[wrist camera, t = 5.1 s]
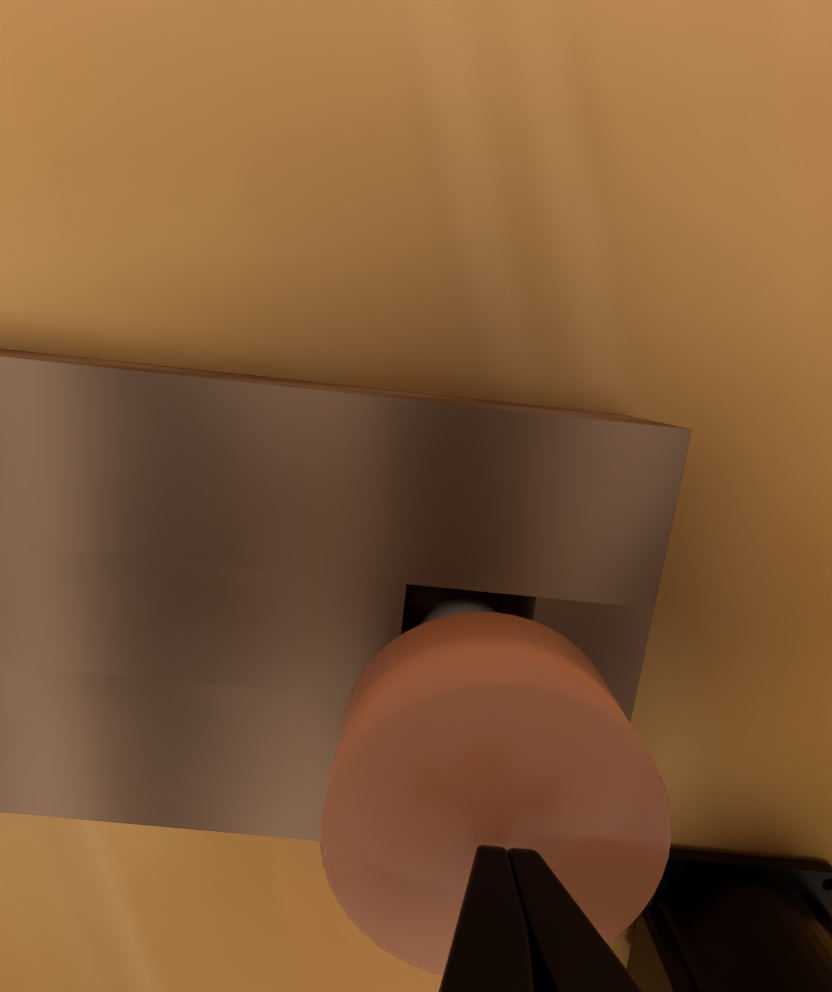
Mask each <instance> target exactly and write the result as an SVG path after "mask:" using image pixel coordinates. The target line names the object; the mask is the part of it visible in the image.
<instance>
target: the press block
mask: <svg viewBox="0 0 832 992" xmlns="http://www.w3.org/2000/svg"><path fill="white" fill-rule="evenodd" d="M690 435H691V430H690V429H686V428H681V427H677V426H672V425H668V424H663V423H659V422H654V421H650V420H645V419H641V418H636V417H632V416H627V415H617V414H608V413H598V412H589V411H580V410H570V409H561V408H551V407H542V406H533V405H523V404H514V403H504V402H495V401H486V400H476V399H467V398H457V397H448V396H439V395H429V394H420V393H410V392H401V391H392V390H382V389H373V388H363V387H354V386H345V385H335V384H326V383H316V382H307V381H298V380H288V379H279V378H269V377H260V376H251V375H241V374H232V373H222V372H213V371H204V370H194V369H185V368H175V367H166V366H157V365H147V364H138V363H128V362H119V361H110V360H100V359H91V358H81V357H72V356H63V355H53V354H44V353H34V352H25V351H16V350H6V349H0V812H4V813H16V814H27V815H38V816H49V817H60V818H72V819H83V820H94V821H105V822H116V823H127V824H139V825H150V826H161V827H172V828H183V829H195V830H206V831H217V832H228V833H239V834H251V835H262V836H273V837H284V838H295V839H306V840H318V841H321V821H322V815H323V809H324V804H325V799H326V794H327V789H328V785H329V780H330V775H331V771H332V766H333V761H334V757H335V752H336V747H337V742H338V738H339V733H340V728H341V724H342V719H343V714H344V710H345V707H346V704H347V701H348V697H349V695H350V693H351V690H352V688H353V686H354V684H355V682H356V680H357V679H358V677H359V676H360V674H361V673H362V671H363V670H364V668H365V667H366V666H367V664H368V663H369V662H370V661H371V660H372V659H373V658H374V657H375V655H376V654H377V653H378V652H379V651H381V650H382V649H383V648H384V647H385V646H386V645H388V644H389V643H390V642H391V641H393V640H394V639H396V638H397V637H399V636H400V635H402V634H403V633H405V632H404V631H401V629H402V620H403V610H404V601H405V592H406V584H411V585H421V586H432V587H442V588H452V589H462V590H472V591H482V592H492V593H502V594H503V601H502V608H501V613H503V614H509V615H515V616H519V617H522V618H525V619H529V620H532V621H535V622H537V623H540V624H542V625H544V626H546V627H549V628H551V629H552V630H554V631H556V632H557V633H559V634H561V635H562V636H564V637H566V638H567V639H568V640H569V641H571V642H572V643H573V644H574V645H576V646H577V647H578V648H579V649H580V650H581V651H582V652H583V653H584V654H585V655H586V656H587V657H588V658H589V659H590V660H591V662H592V663H593V665H594V666H595V667H596V669H597V670H598V672H599V673H600V675H601V676H602V678H603V680H604V681H605V683H606V685H607V686H608V688H609V690H610V691H611V693H612V695H613V696H614V698H615V700H616V701H617V703H618V705H619V706H620V708H621V710H622V711H623V713H624V715H625V716H626V718H627V720H628V721H629V723H630V720H631V715H632V711H633V706H634V701H635V696H636V692H637V687H638V682H639V677H640V673H641V668H642V663H643V658H644V654H645V649H646V644H647V639H648V635H649V630H650V625H651V620H652V616H653V611H654V606H655V601H656V597H657V592H658V587H659V582H660V578H661V573H662V568H663V563H664V558H665V554H666V549H667V544H668V539H669V535H670V530H671V525H672V520H673V516H674V511H675V506H676V501H677V497H678V492H679V487H680V482H681V478H682V473H683V468H684V463H685V459H686V454H687V449H688V444H689V440H690Z"/></svg>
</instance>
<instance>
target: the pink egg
mask: <svg viewBox="0 0 832 992" xmlns="http://www.w3.org/2000/svg"><path fill="white" fill-rule="evenodd" d="M671 820H672V819H671V813H670V806H669V800H668V797H667V794H666V790H665V787H664V784H663V781H662V779H661V777H660V775H659V773H658V771H657V769H656V767H655V765H654V763H653V761H652V760H651V758H650V756H649V755H648V753H647V751H646V750H645V748H644V746H643V745H642V743H641V741H640V740H639V738H638V736H637V735H636V733H635V731H634V730H633V728H632V726H631V725H630V723H629V721H628V720H627V718H626V716H625V715H624V713H623V711H622V710H621V708H620V706H619V705H618V703H617V701H616V700H615V698H614V696H613V695H612V693H611V691H610V690H609V688H608V686H607V685H606V683H605V681H604V680H603V678H602V676H601V675H600V673H599V672H598V670H597V669H596V667H595V666H594V665H593V663H592V662H591V660H590V659H589V658H588V657H587V656H586V655H585V654H584V653H583V652H582V651H581V650H580V649H579V648H578V647H577V646H576V645H574V644H573V643H572V642H571V641H569V640H568V639H567V638H566V637H564V636H562V635H561V634H559V633H557V632H556V631H554V630H552V629H551V628H549V627H546V626H544V625H542V624H540V623H537V622H535V621H532V620H529V619H525V618H522V617H519V616H515V615H509V614H503V613H498V612H497V611H496V610H495V609H494V608H493V607H491V606H490V605H488V604H486V603H485V602H482V601H480V600H477V599H473V598H453V599H449V600H446V601H443V602H441V603H439V604H437V605H436V606H434V607H433V608H432V609H431V610H429V611H428V612H427V613H426V615H425V616H424V617H423V619H422V620H421V622H420V624H419V626H417V627H415V628H413V629H411V630H408V631H406V632H405V633H403V634H402V635H400V636H399V637H397V638H396V639H394V640H393V641H391V642H390V643H389V644H388V645H386V646H385V647H384V648H383V649H382V650H381V651H379V652H378V653H377V654H376V655H375V657H374V658H373V659H372V660H371V661H370V662H369V663H368V664H367V666H366V667H365V668H364V670H363V671H362V673H361V674H360V676H359V677H358V679H357V680H356V682H355V684H354V686H353V688H352V690H351V693H350V695H349V697H348V701H347V704H346V707H345V710H344V714H343V719H342V724H341V728H340V733H339V738H338V742H337V747H336V752H335V757H334V761H333V766H332V771H331V775H330V780H329V785H328V789H327V794H326V799H325V804H324V809H323V815H322V821H321V853H322V859H323V865H324V869H325V872H326V875H327V878H328V881H329V884H330V886H331V888H332V890H333V892H334V895H335V897H336V899H337V901H338V902H339V904H340V905H341V907H342V908H343V910H344V911H345V913H346V914H347V916H348V917H349V918H350V919H351V920H352V921H353V923H354V924H355V925H356V926H357V927H358V928H359V929H360V930H361V931H362V932H363V933H364V934H365V935H366V936H367V937H368V938H370V939H371V940H372V941H373V942H374V943H376V944H377V945H378V946H380V947H381V948H383V949H384V950H386V951H387V952H389V953H390V954H392V955H393V956H395V957H397V958H399V959H401V960H403V961H405V962H407V963H409V964H411V965H413V966H416V967H419V968H421V969H424V970H427V971H430V972H432V973H437V974H441V975H443V974H444V970H445V966H446V963H447V959H448V955H449V951H450V947H451V944H452V940H453V936H454V932H455V929H456V925H457V921H458V917H459V913H460V910H461V906H462V902H463V898H464V894H465V891H466V887H467V883H468V879H469V876H470V872H471V868H472V864H473V860H474V857H475V853H476V850H477V847H478V846H479V845H490V846H501V847H504V848H505V849H506V850H508V849H510V848H523V849H533V850H535V851H537V852H538V853H539V854H540V855H541V856H542V858H543V859H544V860H545V862H546V863H547V864H548V866H549V867H550V868H551V870H552V871H553V872H554V874H555V875H556V876H557V878H558V879H559V880H560V882H561V883H562V884H563V886H564V887H565V888H566V890H567V891H568V892H569V894H570V895H571V896H572V898H573V899H574V900H575V901H576V903H577V904H578V905H579V907H580V908H581V909H582V911H583V912H584V913H585V915H586V916H587V917H588V919H589V920H590V921H591V923H592V924H593V925H594V927H595V928H596V929H597V931H598V932H599V933H600V935H601V936H602V937H603V939H604V940H605V941H606V943H607V944H609V943H610V942H612V941H613V940H614V939H615V938H616V937H618V936H619V935H620V934H621V933H622V932H623V931H624V930H626V929H627V928H628V927H629V926H630V925H631V924H632V922H633V921H634V920H635V919H636V918H637V917H638V916H639V915H640V913H641V912H642V911H643V910H644V908H645V907H646V905H647V904H648V902H649V901H650V899H651V898H652V896H653V895H654V893H655V891H656V889H657V887H658V885H659V882H660V880H661V878H662V876H663V873H664V870H665V867H666V864H667V861H668V857H669V850H670V844H671Z"/></svg>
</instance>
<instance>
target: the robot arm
mask: <svg viewBox="0 0 832 992" xmlns="http://www.w3.org/2000/svg"><path fill="white" fill-rule="evenodd" d="M671 865H673V866H671ZM669 866H671V867H669ZM628 968H629V972H628V970H627V969H626V968H625V966H624V965H623V964H622V962H621V961H620V960H619V958H618V957H617V956H616V954H615V953H614V952H613V951H612V949H611V948H610V947H609V945H608V944H607V943H606V941H605V940H604V939H603V937H602V936H601V935H600V933H599V932H598V931H597V929H596V928H595V927H594V925H593V924H592V923H591V921H590V920H589V919H588V917H587V916H586V915H585V913H584V912H583V911H582V909H581V908H580V907H579V905H578V904H577V903H576V901H575V900H574V899H573V898H572V896H571V895H570V894H569V892H568V891H567V890H566V888H565V887H564V886H563V884H562V883H561V882H560V880H559V879H558V878H557V876H556V875H555V874H554V872H553V871H552V870H551V868H550V867H549V866H548V864H547V863H546V862H545V860H544V859H543V858H542V856H541V855H540V854H539V853H538V852H537V851H535V850H533V849H523V848H510V849H508V850H506V849H505V848H504V847H501V846H490V845H479V846H478V847H477V850H476V853H475V857H474V860H473V864H472V868H471V872H470V876H469V879H468V883H467V887H466V891H465V894H464V898H463V902H462V906H461V910H460V913H459V917H458V921H457V925H456V929H455V932H454V936H453V940H452V944H451V947H450V951H449V955H448V959H447V963H446V966H445V970H444V974H443V978H442V981H441V985H440V989H439V992H832V865H830V864H827V863H820V862H809V861H798V860H787V859H776V858H765V857H754V856H743V855H732V854H721V853H709V852H698V851H687V850H676V849H670V850H669V857H668V861H667V864H666V867H665V870H664V873H663V876H662V878H661V880H660V882H659V885H658V887H657V889H656V891H655V893H654V895H653V896H652V898H651V899H650V901H649V902H648V904H647V905H646V907H645V908H644V910H643V911H642V912H641V913H640V915H639V916H638V921H637V925H636V929H635V933H634V938H633V942H632V946H631V950H630V955H629V959H628Z"/></svg>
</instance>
